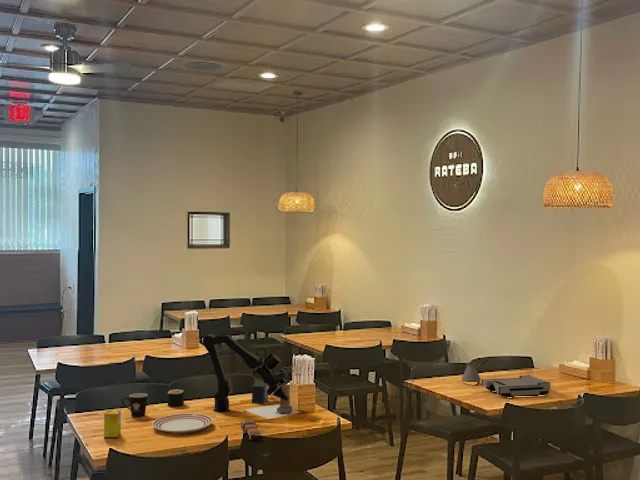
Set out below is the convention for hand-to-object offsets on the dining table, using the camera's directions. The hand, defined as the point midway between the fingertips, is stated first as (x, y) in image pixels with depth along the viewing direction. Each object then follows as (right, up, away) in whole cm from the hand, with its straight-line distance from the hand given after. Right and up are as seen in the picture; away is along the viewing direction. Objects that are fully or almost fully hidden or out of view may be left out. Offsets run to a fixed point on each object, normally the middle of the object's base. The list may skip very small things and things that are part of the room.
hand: (288, 398), depth 323 cm
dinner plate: (-48, -7, -25) cm, 54 cm away
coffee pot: (+114, -10, +78) cm, 138 cm away
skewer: (-15, -8, -34) cm, 38 cm away
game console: (+129, -10, +50) cm, 139 cm away
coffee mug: (-75, -7, -5) cm, 76 cm away
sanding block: (-2, -6, 0) cm, 6 cm away
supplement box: (-75, -7, -41) cm, 86 cm away
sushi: (-60, -7, +15) cm, 62 cm away
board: (-8, -8, +1) cm, 11 cm away
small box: (-16, -8, +21) cm, 27 cm away
